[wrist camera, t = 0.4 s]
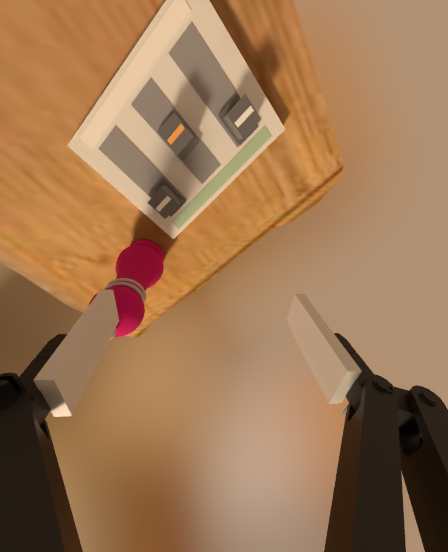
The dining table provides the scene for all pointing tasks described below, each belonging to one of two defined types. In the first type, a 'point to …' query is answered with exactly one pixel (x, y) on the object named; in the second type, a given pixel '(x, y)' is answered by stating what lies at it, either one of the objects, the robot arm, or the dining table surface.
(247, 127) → the breaker
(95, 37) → the dining table surface
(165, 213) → the breaker
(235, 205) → the dining table surface
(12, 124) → the dining table surface
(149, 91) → the panel
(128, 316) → the pepper mill
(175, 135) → the breaker
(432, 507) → the robot arm
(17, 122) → the dining table surface
